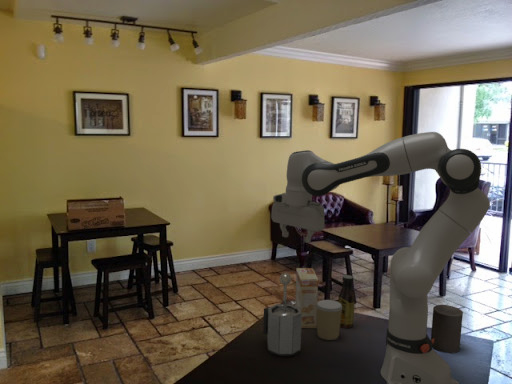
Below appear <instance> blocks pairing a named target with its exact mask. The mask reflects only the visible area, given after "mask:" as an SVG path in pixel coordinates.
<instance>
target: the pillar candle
mask: <svg viewBox="0 0 512 384" xmlns="http://www.w3.org/2000/svg"><path fill="white" fill-rule="evenodd" d="M432 309H433V311H432V317H431V318H432V319H431V322H432V323H431V331H430V333H431V334H430V335H431V336H430V340H432V339H433V338H434V343H433V344H432V349H433V350H436V351H438V352H441V353H444V354H445V353H446V354H455V353H458V352H459V351H460V348H461V338H462V337H461V336H462V329H463V328H462V326H463V315H464V311H463V310H462V309H460V308H459V307H456V306H453V305H450V304H449V305H448V304H437V305H434V306H433V308H432Z"/></svg>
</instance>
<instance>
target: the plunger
mask: <svg viewBox="0 0 512 384" xmlns="http://www.w3.org/2000/svg"><path fill="white" fill-rule="evenodd" d="M279 282H280V283H281V284H282V285H283V303H282V304H283V308H277V309H275V310H274V313H275V314H278V315H294V314H296V311H295V310H293V309H290V308H286V304H287V298H288V297H287V295H288V293H287V291H288V290H287V288H288V287H287V286H289V284H291V282H292V277H291V275H290V274H289V273H288V272H283V273H281V274H280V276H279Z"/></svg>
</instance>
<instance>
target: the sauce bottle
mask: <svg viewBox="0 0 512 384" xmlns="http://www.w3.org/2000/svg"><path fill="white" fill-rule="evenodd" d="M353 283H354V277H353V275H349V274H344V275H343V276H342V286H341V289H340V291H339V294H338V301H337V302H339V303H340V304H341V305H342V311H341V321H340V327H341V328H344V329H347V328H348V329H349V328H352V327H353V325H354V319H355V318H354V316H355V305H356V304H355V298H356V294H355V291H354V289H353V287H354V286H353Z"/></svg>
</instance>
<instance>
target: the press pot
mask: <svg viewBox="0 0 512 384" xmlns="http://www.w3.org/2000/svg"><path fill="white" fill-rule="evenodd" d="M277 308H283V303H277V304H276V303H275V304H274V305H271V306H267V307H265V308H263V326H262V327H263V334H264V335H267V351H268V353H269V354H271V355H274V357H281V358H291V357H295V356H298V354H299V353H300V351H301V347H302V346H301V344H302V328H301V318H302V312H301V309H300V308H299V307H296V306H295V305H294V304H293V305H292V304H291V303H288V304H287V303H286V308H290V309H293V310H295V311H296V314H294V315H278V314H275V313H274V310H275V309H277Z"/></svg>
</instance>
